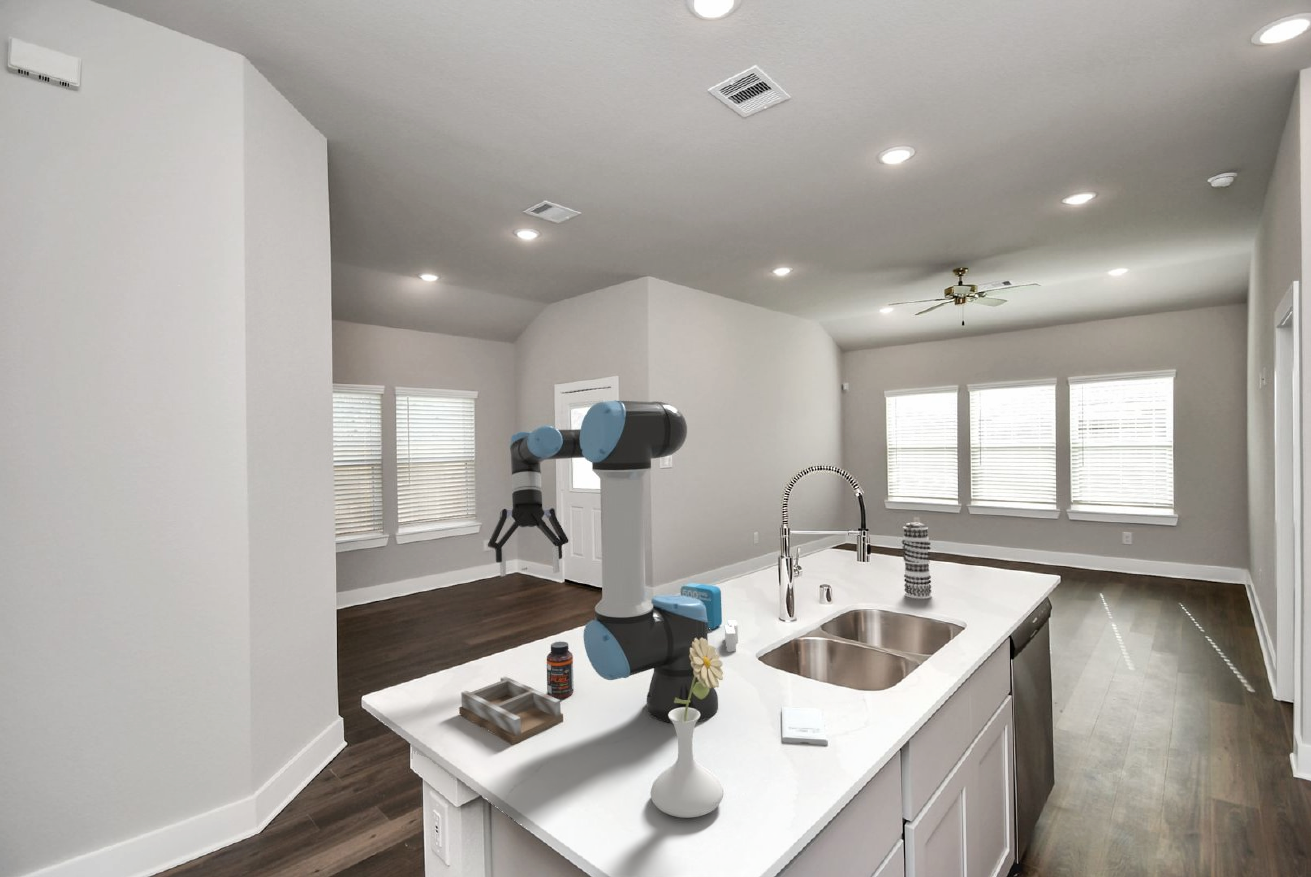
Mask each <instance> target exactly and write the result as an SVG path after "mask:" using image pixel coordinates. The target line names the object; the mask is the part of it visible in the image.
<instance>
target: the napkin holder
mask: <svg viewBox="0 0 1311 877" xmlns="http://www.w3.org/2000/svg"><path fill="white" fill-rule="evenodd" d="M738 627H739V626H738V622H737V620H735V619H734V620H733V619H732V620H731V619H729V620H727V625H724V636H725V638H724V639H725V641H724V642H726V643H725V648H726V647H727V648H726V652H727V651H736V652H737V644H736V642H738V643H739V632H738V631H739V630H738Z"/></svg>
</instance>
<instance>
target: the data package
mask: <svg viewBox="0 0 1311 877" xmlns="http://www.w3.org/2000/svg"><path fill="white" fill-rule="evenodd" d="M680 596H687V597H692V598H695V599H698V600H700V601H702V602H703V603H704V605H705V607H706V616H707V620H708V623H707V628H710V629H712V630H714V629H716V628H718V627H719V626H721V625H722V622H723V612H722V610H723V609H722V591H721V588H720V587H718V586H716V585H710V584H702V583H695V582H690V583H687V584H684V585H682V586H681V588H680ZM717 626H718V627H717ZM710 629H709V630H710Z"/></svg>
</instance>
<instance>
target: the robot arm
mask: <svg viewBox="0 0 1311 877" xmlns="http://www.w3.org/2000/svg"><path fill="white" fill-rule="evenodd" d="M687 435H688V426H687V421H686V419H685V417H684V415H683V414H682V413H681V411H680V410H679V409H678V408H677V407H675V406H673V405H671V404H669V403H668V402H667V403H666V402H663V401H634V400H633V401H632V400H631V401H630V400H616V399H615V400H607V401H600V402H597V403H595V404H593V405H592V406H591V407H590V408H589V409H587V412H586V414H585V415H584V417H583V420H582V422H581V426H580V428H577V429H558V428H556V427H554V426H552V425H541V426H540V427H537V428H535V429H534V430H533V431H518V432H516V433H514V434H512V435H511V437H510V446H509V450H510V465H511V466H510V467H511V490H512V493H511V494H512V495H511V496H512V502H511V503H512V510H509V509H506V508H503V509H502V510H501V511H500V512H499V520H498V521H497V524H496V526H495V528H494V530H493V533H492V535H491V537H490V538H489V541H488V543H487V547H488V548H492V549H494V550H495V562H496V563H499V576H500V577H506V576H507V567H506V566H507V563H506V562H507V560H506V548H503V547H504V545H505V544H506V543H507V542H508V540H509V539H510V538H511V536H512V535H513V534H514V532H516V530H517V529H518V528H519V527H520V528H526V527H528V528H534V527H536V528H538V529H539V530H540V531H541V532H542V534H544V536H545V537H546V538H547V539H548V540H549V541H550V542H551V543H552V544H553V547H552V548H551V550H552V570H553V573H552V574H557V573H560V572H561V571H560V569H561V568H560V560H561V559H562V558H563V549H562V548H563V545H566V544H568V543H569V538H568V536H567V535H566V532H565V531H564V529H563V527H562V525H561V524H560V521H559V520H558V517H557V516H556V510H555V508H554V507H552V508H550V509H544V508H543V494H542V493H543V492H542V491H541V489H542V475H541V474H542V471H541V463H542V462H544V461H546V460H561V459H562V460H563V459H564V460H565V459H583V458H584V459H585V460H587V461H589V462H590V463H591V465H592V466H591V467H592V468H591V469H592V471H593V473H595V475H596V476H598V478H599V479H600V480H599V481H600V482H599V483H600V484H599V485H600V486H599V487H600V532H601V533H600V538H601V539H600V540H601V541H600V542H601V548H600V549H601V588H602V590H601V594H602V596H601V600H599V602H598V603H597V604H596V605H595V606H594V619H592V620H590V621H589V622H587V623H586V625H585V627H584V630H583V644H584V649H585V653H586V656H587V658H588V661H589V662H590V665H591V666H592V668H593V670H594V671H595V672H596V674H598V675H599V676H600V677H601V678H603V679H604V680H608V681H614V680H618V679H628V678H629V677H630V676H634V675H637V674H639V673H640V674H641V673H643V672H646V671H649V670H653V672H652V676H651V681H650V684H649V688H648V692H647V695H646V710H647V713H648V714H649V715H650V716H652V717H653V718H654V719H657V720H659V721H662V722H666V723H672V724H673V722H672V721H671V720H670V719H669V717H668V714H669V712H670V711H671V710H673V709H676V708H681V707H686V704H682V703H674V700H675V698H678V699H681V700H688V697H689V693H690V689H691V685H692V681H693V678H694V673H693V671H694V669H693V667H692V666H691V660H690V657H689V655H690V648H692V642H694V639H695V638H697V639H698V641H699V640H700V639H701V638H703V639H706V640H707V642H708V643H709V641H708V629H707V623H708V620H707V616H706V607H705V605H704V603H703V602H702V601H700V600H698V599H695V598H692V597H687V596H681V594H680V595H678V594H677V595H676V594H661V595H655V596H654V597H652V599H651V601H650V599H648V597H647V596H646V592H647V591H646V550H645V548H646V546H645V545H646V543H645V542H646V540H645V539H646V538H645V537H646V535H645V494H644V493H645V491H644V490H645V486H644V485H645V484H644V481H645V479H644V478H645V476H646V475H647V474H648V473H649V472H650V471H651V470H652V459H660V458H661V459H662V458H665V457H669V456H671V455H673V454H675V453H676V452H678V451H679V450H680V449H681V448H682V447H683V445H684V444H685V441H686V439H687ZM510 516H511V517H512V518H513V520H514V522H513V523H512V524H511V525H510V527H509V528H508V530H507V531H506V532H505V533H504V535H503V536H502V537H501V538H500V539H499V541H498V538H499V536H500V534H501V531H502V530H503V527H504V525H505V523H506V521H507V519H509V518H510ZM544 516H545V517H546V518H547V519H548V521H549V523H550V525H551V526H552V528H553V530H554V531H553V530H552V529H551V528H550V527H549V526H548V525H547V524H546V522H545V521H544V519H543V517H544ZM554 532H555V533H554ZM497 541H498V542H497ZM697 682H699V680H698V679H697V677H696V679H695V682H694V685H695V684H696V683H697ZM693 687H694V686H693ZM692 691H693V690H692ZM718 696H719V695H718V693H717V690H716V688H713V687H711V688H709V693H708V695H707V696H706V697H705V698H703V699H699V698H698V697H696V696H695V695H694V694H693V692H692V694H691V698H690V701H691V702H690V703H689V705H688V708H693V709H696V710H697V711H699V712H700V717H699V719H698V720H697V722H701V721H703V720H707V719H709V718H711V717H713V715H715V714H716V713H717V712H718V710H719V697H718ZM697 722H696V723H697Z"/></svg>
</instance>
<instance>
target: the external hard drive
mask: <svg viewBox="0 0 1311 877" xmlns="http://www.w3.org/2000/svg"><path fill="white" fill-rule="evenodd" d="M781 734H782V735H781V738H782V739H781V740H782V742H781V743H790V744H791V743H792V744H794V743H795V744H809V745H823V746H824V745H825V746H828V745H829V740H828V734H827V729H826V722H825V717H824V712H823V709H821V708H812V707H791V706H782V707H781Z"/></svg>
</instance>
